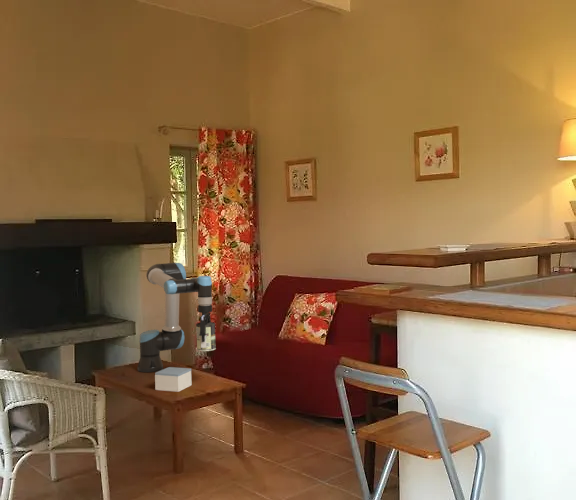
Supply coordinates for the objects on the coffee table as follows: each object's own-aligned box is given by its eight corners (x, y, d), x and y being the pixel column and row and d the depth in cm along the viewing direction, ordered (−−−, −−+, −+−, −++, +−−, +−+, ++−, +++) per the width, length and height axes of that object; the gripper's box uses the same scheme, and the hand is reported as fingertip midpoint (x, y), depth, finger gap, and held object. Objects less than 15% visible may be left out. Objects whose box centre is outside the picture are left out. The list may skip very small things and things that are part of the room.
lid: (169, 368, 358) (169, 367, 358) (191, 370, 353) (191, 368, 353) (155, 374, 345) (155, 372, 345) (178, 376, 340) (178, 374, 340)
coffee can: (210, 346, 358) (209, 321, 358) (219, 349, 350) (218, 323, 349) (193, 349, 352) (192, 323, 352) (202, 352, 344) (201, 325, 343)
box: (169, 383, 358) (168, 369, 358) (191, 385, 353) (191, 370, 353) (155, 389, 345) (154, 374, 345) (178, 391, 340) (177, 376, 340)
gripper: (203, 301, 361) (204, 341, 363) (193, 307, 339) (194, 349, 340) (216, 301, 361) (217, 341, 362) (207, 307, 338) (208, 349, 339)
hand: (206, 345), depth 351 cm, fingers closed on coffee can, 10 cm apart
